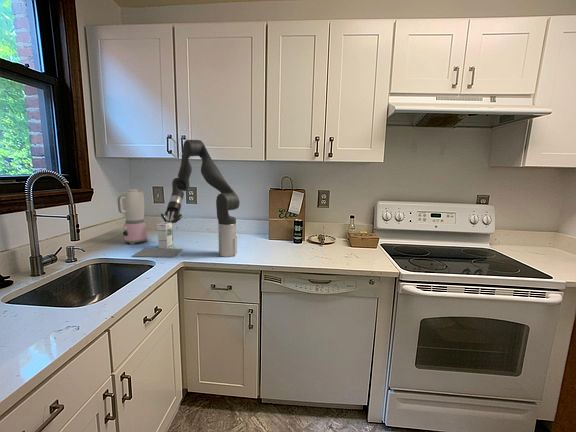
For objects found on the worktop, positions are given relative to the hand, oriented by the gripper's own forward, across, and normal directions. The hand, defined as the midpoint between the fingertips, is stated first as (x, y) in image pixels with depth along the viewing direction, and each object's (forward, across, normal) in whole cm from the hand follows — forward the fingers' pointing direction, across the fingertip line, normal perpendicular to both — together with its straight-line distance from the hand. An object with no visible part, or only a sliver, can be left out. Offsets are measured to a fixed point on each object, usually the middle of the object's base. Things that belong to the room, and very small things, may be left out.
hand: (168, 228), depth 167 cm
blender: (+4, -23, +12) cm, 26 cm away
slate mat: (+18, 0, -2) cm, 18 cm away
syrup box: (+10, 0, +5) cm, 12 cm away
